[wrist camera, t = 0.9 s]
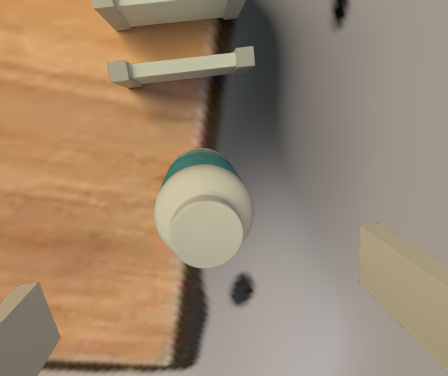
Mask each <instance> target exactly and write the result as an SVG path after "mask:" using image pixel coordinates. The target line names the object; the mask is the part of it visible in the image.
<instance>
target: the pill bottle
mask: <svg viewBox="0 0 448 376" xmlns="http://www.w3.org/2000/svg"><path fill="white" fill-rule="evenodd" d="M154 220H155V225H156V229H157V231H158V233H159V235H160V237H161V239H162V240H163V241H164V243H165V244H166V245H167V246H168V247H169V248H170V249H172V250H173V252H174V253H175V255H176V256H177V257H178V258H179V259H180V260H181V261H183V262H184V263H186V264H188V265H190V266H193V267H197V268H213V267H217V266H220V265H222V264H224V263H226V262H227V261H229V260H230V259H231V258H232V257H234V255H235V254H236V253H237V252H238V250H239V248H240V246H241V244H242V242H243V241H244V239H245V238H246V237H247V235H248V233H249V231H250V228H251V225H252V221H253V203H252V199H251V196H250V194H249V192H248V190H247V188H246V186H245V185H244V183H243V182H242V180H241V179H240V177H239V176H238V174H237V173H236V171H235V170H234V168H233V167H232V165H231V164H230V163H229V161H228V160H227V159H226V158H225V157H224V156H223V155H222V154H220V153H218V152H216V151H214V150H211V149H207V148H195V149H191V150H188V151H186V152H184V153H182V154H180V155H179V156H178V157H177V158H176V159H175V160H174V161H173V163H172V164H171V166H170V168H169V170H168V172H167V175H166V177H165V179H164V182H163V184H162V187H161V189H160V191H159V194H158V197H157V199H156V203H155V208H154Z"/></svg>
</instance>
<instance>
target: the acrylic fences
mask: <svg viewBox="0 0 448 376" xmlns="http://www.w3.org/2000/svg"><path fill="white" fill-rule="evenodd" d="M92 1H93V6H94V9H95V10H96V11H97V12H98V13H99V14H100V15H101V16H102V17H103V18H104V19H105V20H106V21H107V22H108V23H109V24H110V25H111V26H112V27H113V28H114V29H115V30H116V31H121V30H130V29H131V27H135V26H145V25H155V24H164V23H174V22H184V21H193V20H203V19H213V18H222V17H223V20H226V19H236V18H238V16H239V14H240V12H241V10H242V8H243V5H244V3H245V1H246V0H92ZM253 66H255V62H254V49H253V46H250V47H243V48H242V47H241V48H236V49H235V50H234V52H233V53H227V54H218V55H209V56H200V57H191V58H182V59H173V60H164V61H155V62H147V63H138V64H129V63H128V62H126V61H116V62H107V67H108V72H109V76H110V81H111V82H112V83H115V84H118V85H120V86H123V87H126V88H135V87H143V86H142V84H150V83H158V82H167V81H175V80H184V79H192V78H201V77H209V76H218V75H226V74H229V76H236V75H243V74H244V73H246V72H247V71H248V70H249V69H251V68H252V67H253Z"/></svg>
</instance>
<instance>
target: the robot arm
mask: <svg viewBox="0 0 448 376" xmlns="http://www.w3.org/2000/svg"><path fill="white" fill-rule="evenodd" d="M359 281H360V283H361V284H362V285H363V286H364V287H365V288H366V289H367V290H368V291H369V292H370V293H371V294H372V295H373V297H374V298H375V299H376V300H377V301H379V303H380V304H381V305H382V306H383V307H384V308H385V309H386V310H387V311H388V312H389V313H390V314H391V315H392V316H393V317H394V318H395V319H396V320H397V321H398V323H399V324H400V325H401V326H402V327H403V328H404V329H405V330H406V331H407V332H408V333H409V334H410V335H411V336H412V337H413V338H414V339H415V340H416V341H417V342H418V343H419V344H420V345H421V347H422V348H423V349H424V350H425V351H426V352H427V353H428V354H429V355H430V356H431V357H432V358H433V359H434V360H435V361H436V362H437V363H438V364H439V365H440V366H441V367H442V368H443V369H444V370H445V372H446V373H447V374H448V266H447V265H445V264H443V263H442V262H440V261H439V260H437V259H435V258H434V257H432V256H430V255H429V254H427V253H426V252H424V251H422V250H421V249H419V248H417V247H416V246H414V245H412V244H411V243H409V242H407V241H406V240H404V239H403V238H401V237H399V236H398V235H396V234H395V233H393V232H391V231H390V230H388V229H386V228H385V227H383V226H381V225H380V224H378V223H376V224H370V225H364V226H360V280H359ZM60 338H61V337H60V335H59V332H58V330H57V327H56V324H55V322H54V319H53V317H52V314H51V312H50V309H49V307H48V304H47V302H46V299H45V297H44V294H43V292H42V289H41V286H40V284H39V282H35V283H30V284H24V285H18V286H17V287H16V288H15V289H14V290H13V291H12V292H11V293H10V294H9V295H8V296H7V297H6V298H5V299H4V300H3V301H2V302H1V303H0V376H38V374H39V373H40V371H41V369H42V368H43V366H44V364H45V363H46V361H47V359H48V358H49V356H50V354H51V353H52V351H53V349H54V348H55V346H56V344H57V343H58V341H59V339H60Z"/></svg>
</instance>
